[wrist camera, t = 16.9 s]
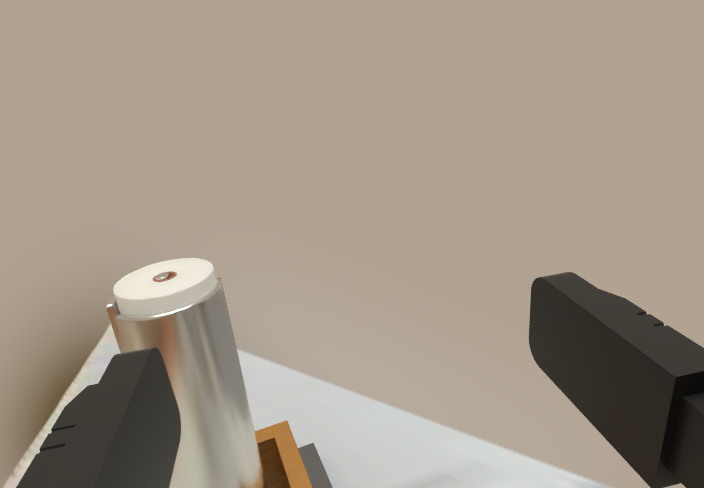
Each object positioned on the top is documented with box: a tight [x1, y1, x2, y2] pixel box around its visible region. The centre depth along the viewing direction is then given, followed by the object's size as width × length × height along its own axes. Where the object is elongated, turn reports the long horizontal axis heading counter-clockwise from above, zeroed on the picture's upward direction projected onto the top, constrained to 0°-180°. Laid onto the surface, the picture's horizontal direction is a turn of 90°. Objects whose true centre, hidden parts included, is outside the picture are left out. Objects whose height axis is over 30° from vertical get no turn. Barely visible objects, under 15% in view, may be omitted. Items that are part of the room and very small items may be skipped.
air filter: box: [106, 258, 267, 488], centre depth 31 cm, size 6×6×25 cm
